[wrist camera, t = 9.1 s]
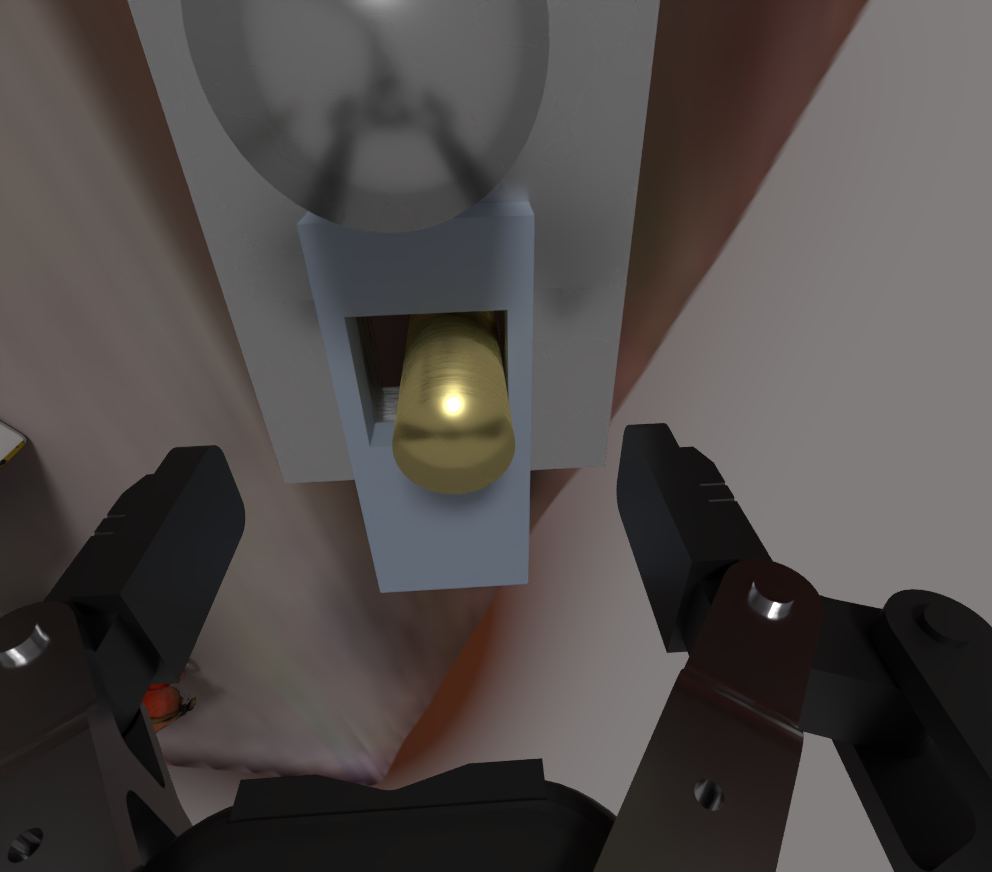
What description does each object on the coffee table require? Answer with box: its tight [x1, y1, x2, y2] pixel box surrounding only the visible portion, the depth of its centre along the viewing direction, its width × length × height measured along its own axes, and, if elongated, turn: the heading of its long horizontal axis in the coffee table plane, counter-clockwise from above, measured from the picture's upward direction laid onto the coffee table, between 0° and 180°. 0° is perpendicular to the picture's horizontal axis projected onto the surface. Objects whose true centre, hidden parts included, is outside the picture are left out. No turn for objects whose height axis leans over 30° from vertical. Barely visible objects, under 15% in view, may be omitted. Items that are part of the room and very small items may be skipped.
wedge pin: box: [392, 311, 515, 494], centre depth 17 cm, size 3×3×13 cm
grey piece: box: [128, 0, 660, 483], centre depth 15 cm, size 10×14×14 cm
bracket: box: [297, 202, 535, 593], centre depth 19 cm, size 5×12×10 cm, turn 1°
